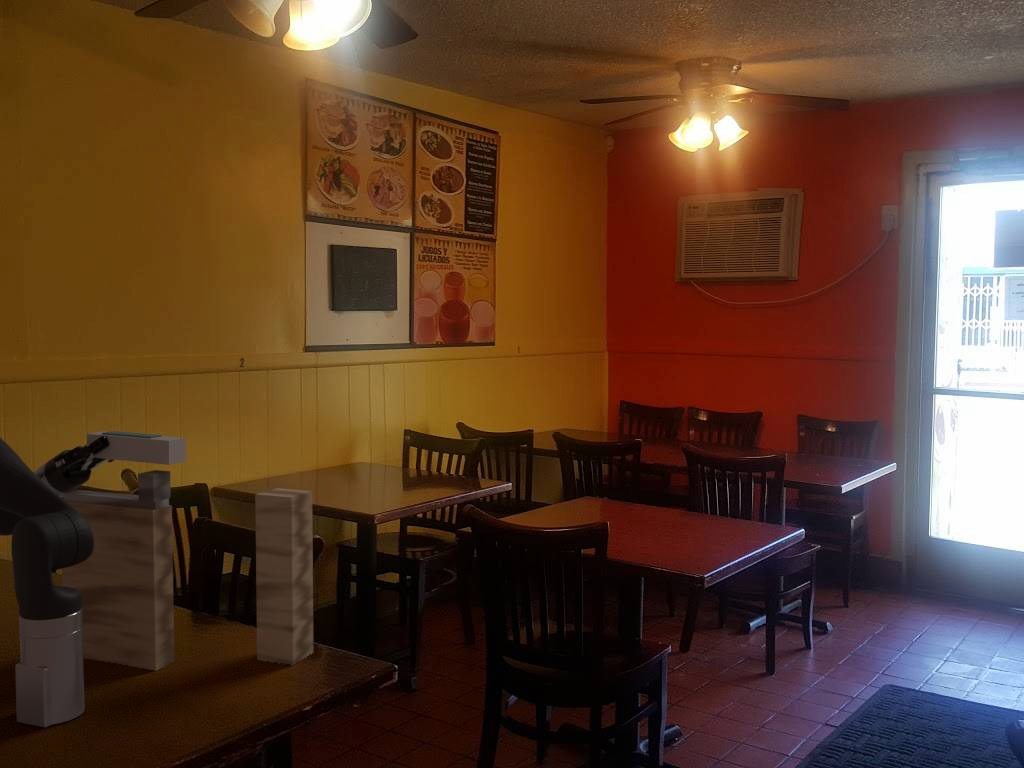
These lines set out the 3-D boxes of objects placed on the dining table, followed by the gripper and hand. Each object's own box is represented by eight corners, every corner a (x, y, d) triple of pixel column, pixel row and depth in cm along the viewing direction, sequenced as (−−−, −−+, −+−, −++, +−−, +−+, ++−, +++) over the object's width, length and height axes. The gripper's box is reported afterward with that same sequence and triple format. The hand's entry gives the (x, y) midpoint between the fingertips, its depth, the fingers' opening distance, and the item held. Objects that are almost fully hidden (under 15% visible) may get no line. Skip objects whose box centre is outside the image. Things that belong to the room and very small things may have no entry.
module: (185, 461, 178) (185, 436, 177) (169, 464, 173) (168, 439, 173) (105, 453, 185) (104, 429, 185) (87, 456, 181) (86, 432, 181)
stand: (293, 665, 176) (291, 497, 174) (257, 659, 179) (255, 494, 177) (313, 653, 183) (312, 491, 181) (278, 648, 186) (277, 488, 184)
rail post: (155, 670, 173) (152, 475, 171) (64, 655, 181) (59, 467, 179) (174, 661, 178) (171, 471, 176) (84, 646, 186) (79, 463, 183)
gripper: (22, 464, 181) (79, 424, 175) (81, 454, 194) (137, 417, 188) (37, 499, 180) (95, 461, 174) (95, 487, 193) (152, 451, 187)
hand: (116, 438), depth 181 cm, fingers closed on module, 4 cm apart
